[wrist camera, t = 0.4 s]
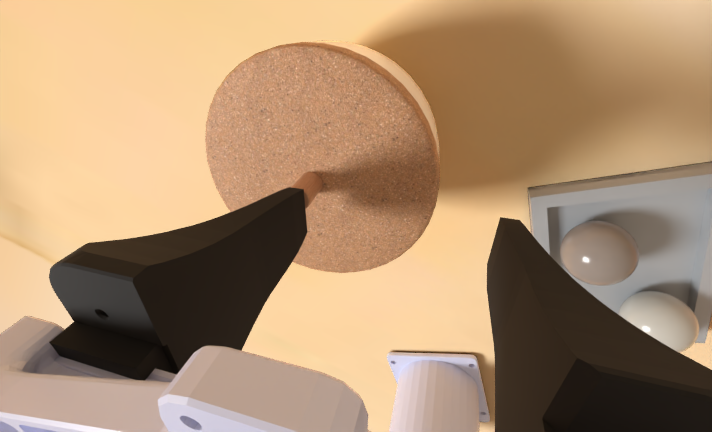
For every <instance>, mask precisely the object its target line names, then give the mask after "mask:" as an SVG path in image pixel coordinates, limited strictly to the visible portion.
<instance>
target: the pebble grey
mask: <svg viewBox="0 0 712 432" xmlns="http://www.w3.org/2000/svg"><path fill="white" fill-rule="evenodd" d="M618 315H620V316H621V317H623V318H624V319H625V320H627V321H628V322H630V323H631V324H633V325H634V326H636V327H637V328H639V329H641V330H642V331H644V332H645V333H647V334H648V335H650V336H652V337H653V338H655V339H657V340H658V341H660V342H662V343H663V344H665V345H667V346H668V347H670V348H672V349H673V350H675V351H677V352H679V353H680V352H683V351H685V350H687V349H688V348H690V347H691V346H692V345H693V344H694V343H695V341H696V340H697V337H698V334H699V324H698V320H697V318H696V316H695V314H694V313H693V311H692V310H691V309H690V307H689V306H687V305H686V304H685V303H684V302H683V301H681V300H680V299H678V298H676V297H674V296H672V295H670V294H666V293H663V292H658V291H644V292H639V293H636V294H633V295H631V296H630V297H628V298H627V299H626V300H625V301H624V302H623V303H622V305H621V306H620V309H619V312H618Z"/></svg>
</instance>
